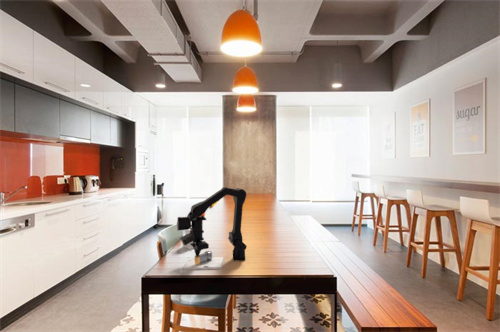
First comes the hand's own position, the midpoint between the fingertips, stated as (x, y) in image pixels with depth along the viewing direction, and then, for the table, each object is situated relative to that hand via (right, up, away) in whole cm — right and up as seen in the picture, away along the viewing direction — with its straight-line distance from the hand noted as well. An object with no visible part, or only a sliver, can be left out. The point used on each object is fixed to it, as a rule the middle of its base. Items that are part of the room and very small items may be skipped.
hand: (197, 257), depth 152 cm
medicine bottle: (-10, -3, +30) cm, 32 cm away
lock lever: (+3, -3, +1) cm, 5 cm away
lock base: (+4, -4, +1) cm, 5 cm away
